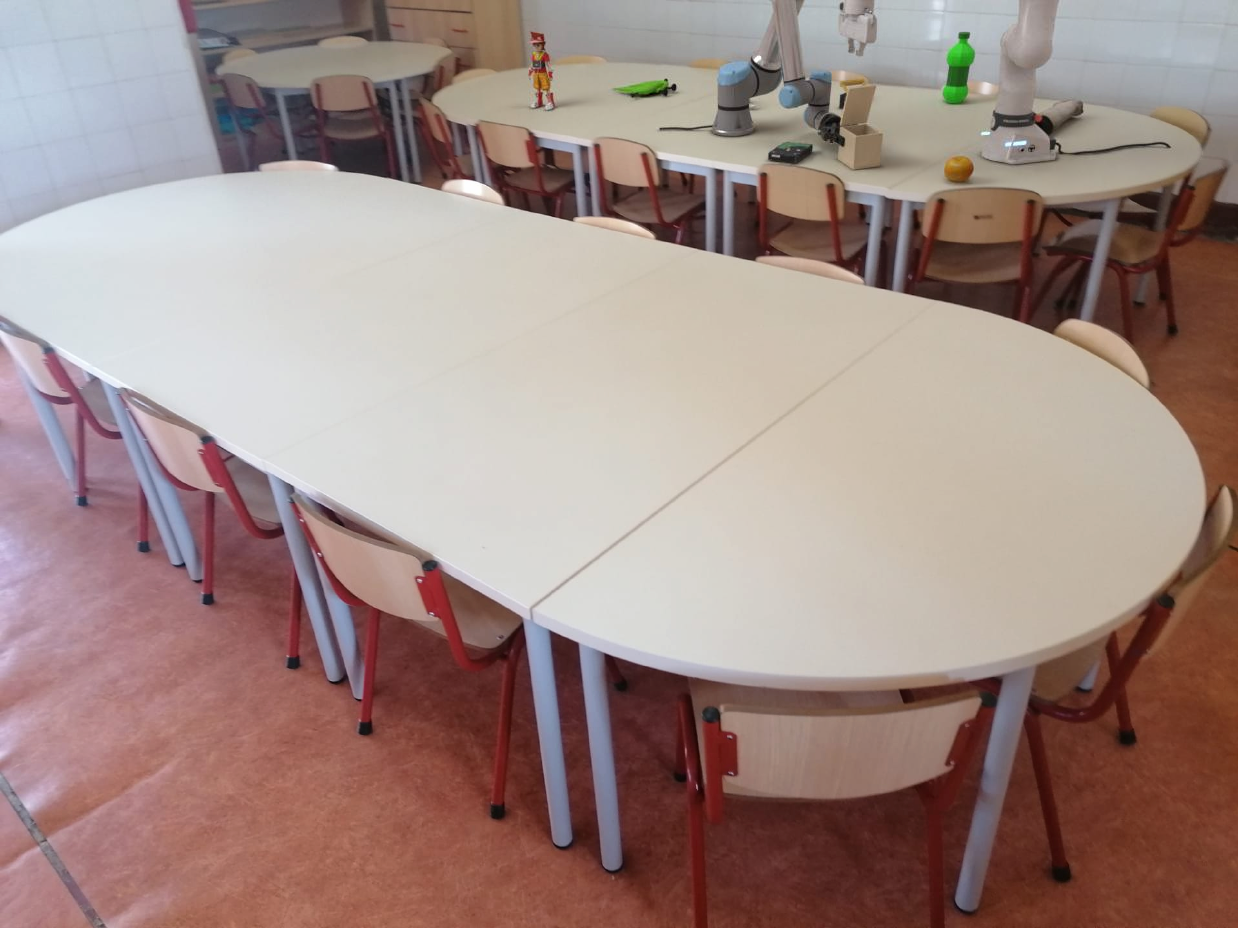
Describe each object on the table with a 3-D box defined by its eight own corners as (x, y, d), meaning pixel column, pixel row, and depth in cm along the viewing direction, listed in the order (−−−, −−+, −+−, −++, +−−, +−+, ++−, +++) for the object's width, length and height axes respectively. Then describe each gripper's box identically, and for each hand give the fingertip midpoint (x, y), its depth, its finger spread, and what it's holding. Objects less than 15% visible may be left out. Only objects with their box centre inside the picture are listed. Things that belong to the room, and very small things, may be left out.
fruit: (938, 171, 273) (955, 148, 270) (938, 174, 281) (955, 151, 278) (961, 187, 272) (979, 164, 269) (961, 189, 280) (978, 166, 277)
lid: (876, 85, 286) (866, 71, 290) (849, 89, 284) (839, 74, 289) (866, 123, 296) (857, 108, 301) (840, 126, 295) (831, 111, 300)
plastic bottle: (973, 101, 354) (984, 32, 339) (955, 106, 349) (966, 36, 335) (952, 97, 361) (962, 29, 346) (934, 102, 356) (944, 33, 342)
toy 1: (525, 109, 381) (517, 32, 364) (534, 104, 388) (527, 28, 371) (550, 110, 377) (543, 32, 360) (559, 105, 384) (553, 28, 367)
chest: (879, 166, 293) (882, 133, 287) (853, 169, 291) (855, 136, 285) (863, 155, 303) (866, 123, 297) (837, 159, 302) (840, 127, 296)
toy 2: (686, 85, 398) (631, 84, 414) (685, 72, 395) (629, 72, 411) (651, 104, 381) (596, 103, 397) (650, 92, 378) (594, 91, 394)
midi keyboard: (841, 108, 355) (842, 95, 352) (838, 108, 356) (840, 94, 353) (863, 99, 366) (865, 86, 363) (860, 98, 366) (862, 86, 364)
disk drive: (796, 164, 299) (812, 151, 309) (796, 156, 298) (813, 143, 308) (767, 161, 304) (784, 148, 314) (767, 152, 302) (785, 140, 312)
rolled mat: (1050, 105, 332) (1075, 87, 323) (1064, 125, 332) (1089, 108, 324) (1018, 127, 314) (1043, 109, 306) (1032, 149, 315) (1057, 131, 306)
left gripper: (857, 132, 317) (887, 148, 299) (799, 139, 313) (825, 156, 295) (859, 109, 313) (890, 125, 295) (800, 116, 309) (827, 132, 291)
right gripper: (884, 10, 271) (879, 59, 279) (854, 1, 288) (850, 48, 295) (865, 12, 270) (860, 61, 278) (836, 3, 287) (832, 50, 294)
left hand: (857, 140), depth 295 cm, fingers closed on chest, 9 cm apart
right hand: (855, 54), depth 287 cm, fingers open, 5 cm apart
